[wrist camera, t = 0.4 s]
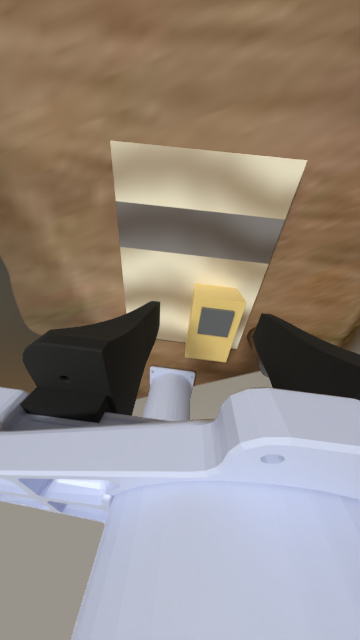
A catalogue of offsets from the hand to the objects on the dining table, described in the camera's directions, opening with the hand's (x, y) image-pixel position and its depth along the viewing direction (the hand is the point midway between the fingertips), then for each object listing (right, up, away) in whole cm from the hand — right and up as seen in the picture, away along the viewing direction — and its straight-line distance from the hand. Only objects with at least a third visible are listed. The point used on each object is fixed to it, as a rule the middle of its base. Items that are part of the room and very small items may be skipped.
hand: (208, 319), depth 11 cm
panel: (-1, +6, +8) cm, 10 cm away
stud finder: (+2, +1, +9) cm, 9 cm away
